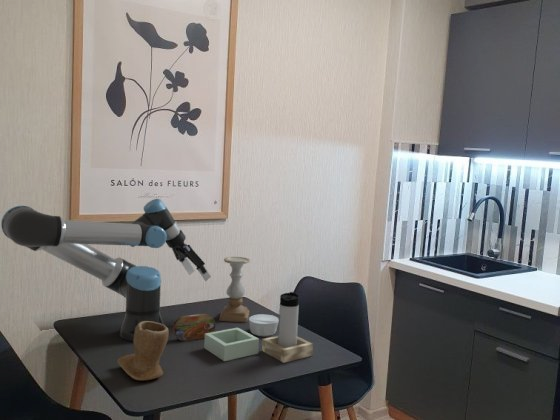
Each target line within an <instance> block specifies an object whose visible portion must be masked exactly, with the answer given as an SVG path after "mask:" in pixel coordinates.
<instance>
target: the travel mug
mask: <svg viewBox="0 0 560 420" xmlns="http://www.w3.org/2000/svg"><path fill="white" fill-rule="evenodd" d="M279 299H280V300H279V311H278V312H279V313H278V315H279V316H278V319H279V322H278V334H277V336H278V345H280V346H282V347H284V348H288V347H292V346H297V336H298V328H299V327H298V324H299V307H300V305H299V303H300V302H299V301H300V296H299V294H297V293H296V292H294V291H289V292H285V293H281V294H280V297H279Z"/></svg>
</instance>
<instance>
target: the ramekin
mask: <svg viewBox="0 0 560 420" xmlns="http://www.w3.org/2000/svg"><path fill="white" fill-rule="evenodd" d="M248 324H249V330H250V332H251V335H253V336H254V335H255V336H257V337H258V336H259V337H270V336H271V337H272V336H274V335H275V334H276V333H277V329H278V327H279V317H277V316H275V315H273V314H272V315H271V314H263V313H261V314H260V313H259V314H254V315H251V316H249V318H248Z"/></svg>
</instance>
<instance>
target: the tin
mask: <svg viewBox="0 0 560 420" xmlns="http://www.w3.org/2000/svg"><path fill="white" fill-rule="evenodd" d="M215 330H216V321H215V319H214V317H213V316H211V315H209V314H207V313H198V314H191V315H183V316H180V317H178V318H177V319H175V321H174V323H173V325H172V332H173V334H174V336H175V337H176V339H178V340H179V341H182V342H183V341H184V342H185V341H187V342H188V341H192V340H194V341H195V340H201V339H205V334H206V333H211V332H215Z"/></svg>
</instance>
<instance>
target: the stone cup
mask: <svg viewBox="0 0 560 420" xmlns="http://www.w3.org/2000/svg"><path fill="white" fill-rule="evenodd" d="M169 333H170V332H169V328H168V327H167V326H166V325H165V324H164V323H163V324H161V323H157V322H153V321H142V322H140V323H139V324H138V325H137V326H136V328H135V333H134V340H133V341H132V342H133V350H134V353H131V354H126V355H123V356H121V357H120V358H119V357H118V359H117V364H118V365H119V367H121V368H122V370H123V371H124V372H125V373H126V374H127V375H128V376H130V378H132V379H133V380H136V381H150V380H154V379H157V378H160V377H162V376H163V374H164V370H163V369H162V366H161V365H160V359H161V356H162V354H163V352H164V350H165V348H166V345H167V344H168V340H169Z"/></svg>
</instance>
